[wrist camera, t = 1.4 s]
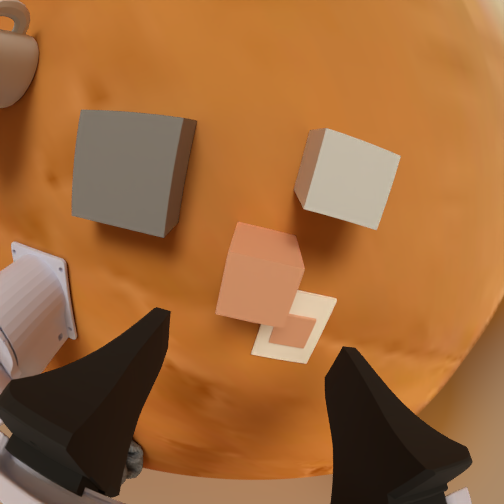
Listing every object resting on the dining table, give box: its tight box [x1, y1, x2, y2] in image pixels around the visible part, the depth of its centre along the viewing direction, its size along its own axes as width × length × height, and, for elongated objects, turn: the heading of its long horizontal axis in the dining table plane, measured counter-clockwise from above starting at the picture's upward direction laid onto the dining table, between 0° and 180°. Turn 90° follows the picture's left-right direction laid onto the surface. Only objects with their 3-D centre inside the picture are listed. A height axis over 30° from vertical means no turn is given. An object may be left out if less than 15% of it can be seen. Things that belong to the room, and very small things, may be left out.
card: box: [251, 290, 337, 364], centre depth 22 cm, size 7×5×1 cm
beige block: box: [294, 128, 401, 230], centre depth 15 cm, size 4×4×5 cm
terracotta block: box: [215, 222, 305, 328], centre depth 17 cm, size 4×4×5 cm
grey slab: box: [72, 110, 197, 238], centre depth 16 cm, size 7×7×3 cm
